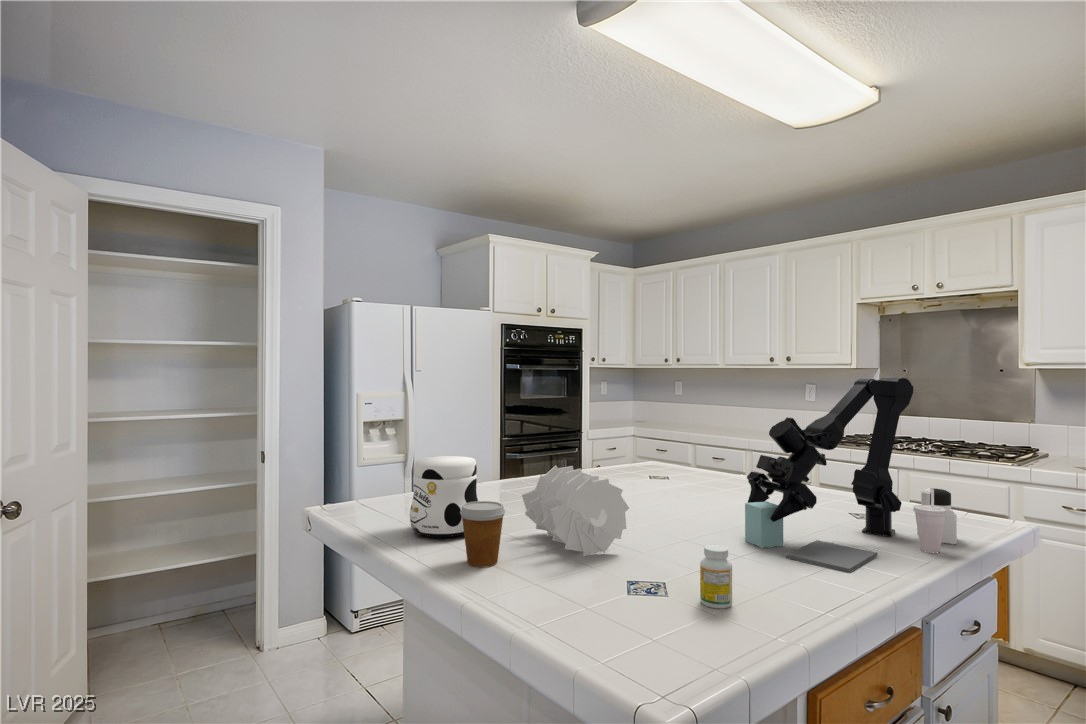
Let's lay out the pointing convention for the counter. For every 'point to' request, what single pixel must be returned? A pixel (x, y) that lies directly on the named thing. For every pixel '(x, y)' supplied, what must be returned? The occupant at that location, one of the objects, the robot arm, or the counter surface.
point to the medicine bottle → (950, 521)
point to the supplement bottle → (716, 577)
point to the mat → (832, 555)
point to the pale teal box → (762, 525)
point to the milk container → (442, 494)
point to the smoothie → (930, 525)
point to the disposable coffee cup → (482, 531)
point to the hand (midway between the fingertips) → (758, 515)
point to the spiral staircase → (577, 509)
